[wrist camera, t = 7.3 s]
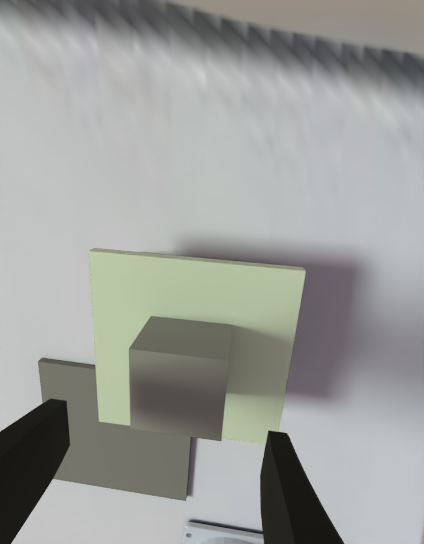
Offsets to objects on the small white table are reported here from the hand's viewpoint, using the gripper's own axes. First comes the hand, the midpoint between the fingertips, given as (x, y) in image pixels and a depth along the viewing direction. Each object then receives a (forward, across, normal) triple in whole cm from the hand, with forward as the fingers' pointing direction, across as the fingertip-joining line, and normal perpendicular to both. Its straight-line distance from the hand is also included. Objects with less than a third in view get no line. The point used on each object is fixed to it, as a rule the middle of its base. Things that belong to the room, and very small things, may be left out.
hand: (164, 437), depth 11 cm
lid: (+6, 0, 0) cm, 6 cm away
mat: (+9, +6, +10) cm, 15 cm away
